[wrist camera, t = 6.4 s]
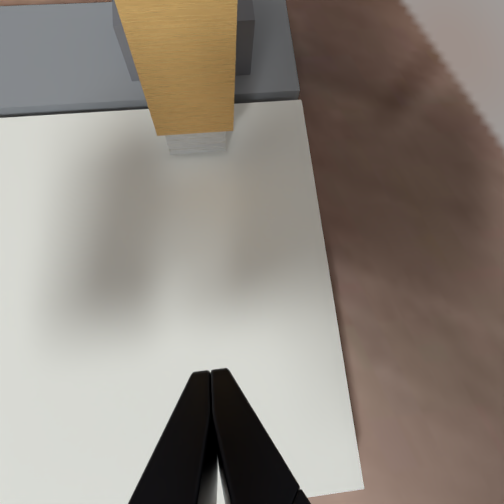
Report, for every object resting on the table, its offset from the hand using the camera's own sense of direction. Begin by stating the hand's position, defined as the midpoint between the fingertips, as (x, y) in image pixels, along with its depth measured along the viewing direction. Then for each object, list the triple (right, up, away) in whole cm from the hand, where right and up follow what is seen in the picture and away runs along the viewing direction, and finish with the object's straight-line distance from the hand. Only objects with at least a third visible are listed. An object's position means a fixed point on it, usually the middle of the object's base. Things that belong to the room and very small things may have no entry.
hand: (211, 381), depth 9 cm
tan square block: (-2, +11, +9) cm, 14 cm away
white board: (-4, +4, +9) cm, 11 cm away
